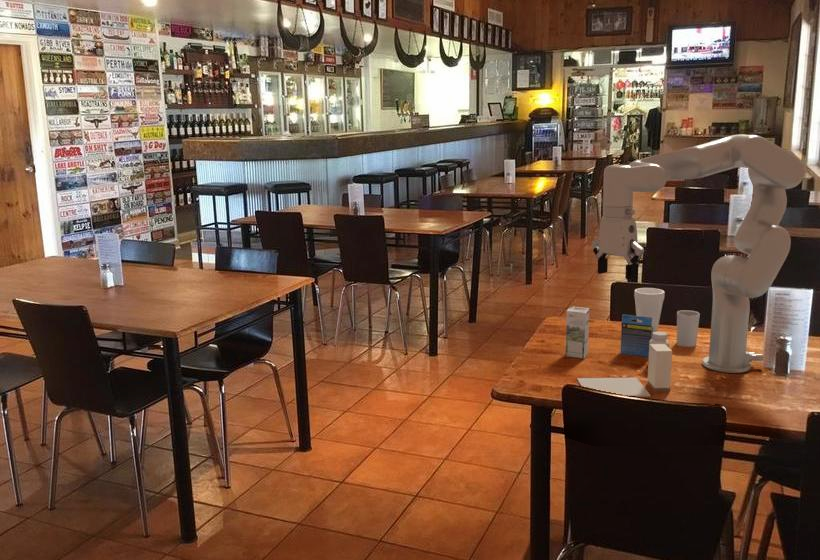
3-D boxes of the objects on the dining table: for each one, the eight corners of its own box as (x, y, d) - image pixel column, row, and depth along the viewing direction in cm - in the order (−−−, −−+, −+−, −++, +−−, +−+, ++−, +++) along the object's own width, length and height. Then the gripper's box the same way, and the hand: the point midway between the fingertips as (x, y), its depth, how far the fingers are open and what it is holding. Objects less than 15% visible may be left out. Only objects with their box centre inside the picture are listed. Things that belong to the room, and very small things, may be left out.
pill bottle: (643, 364, 214) (645, 331, 212) (659, 361, 216) (661, 329, 213) (656, 370, 209) (657, 336, 207) (671, 367, 211) (673, 334, 208)
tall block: (662, 383, 199) (664, 343, 196) (669, 391, 193) (672, 350, 190) (647, 383, 199) (649, 344, 196) (654, 391, 193) (656, 351, 190)
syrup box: (588, 353, 224) (589, 307, 221) (584, 359, 219) (585, 312, 215) (569, 351, 226) (570, 305, 223) (564, 357, 221) (566, 310, 218)
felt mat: (636, 378, 202) (636, 377, 202) (650, 396, 189) (650, 395, 189) (577, 379, 202) (577, 378, 202) (587, 397, 190) (587, 395, 190)
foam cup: (643, 323, 254) (645, 286, 252) (667, 329, 248) (670, 291, 245) (627, 328, 249) (629, 291, 246) (651, 334, 242) (653, 295, 239)
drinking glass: (699, 347, 228) (702, 316, 225) (677, 347, 229) (679, 315, 226) (695, 341, 234) (697, 310, 232) (673, 340, 235) (675, 310, 233)
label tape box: (652, 353, 223) (654, 314, 220) (650, 357, 219) (652, 317, 217) (622, 350, 227) (624, 311, 224) (619, 354, 223) (621, 314, 220)
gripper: (653, 213, 191) (651, 279, 194) (602, 208, 205) (601, 269, 209) (633, 217, 187) (632, 283, 190) (583, 211, 201) (582, 272, 205)
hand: (616, 275), depth 200 cm, fingers open, 9 cm apart
